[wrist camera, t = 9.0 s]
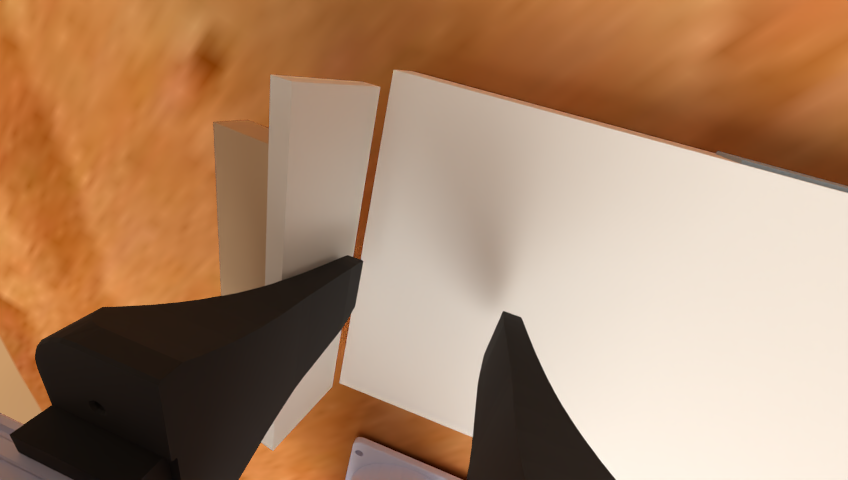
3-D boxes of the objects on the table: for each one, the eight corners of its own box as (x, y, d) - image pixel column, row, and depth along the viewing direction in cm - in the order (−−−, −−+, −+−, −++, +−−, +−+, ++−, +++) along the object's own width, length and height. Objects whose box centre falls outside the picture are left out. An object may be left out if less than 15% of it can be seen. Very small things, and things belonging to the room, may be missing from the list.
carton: (802, 529, 16) (837, 585, 14) (356, 354, 19) (339, 383, 17) (1178, 274, 9) (1326, 318, 8) (413, 67, 12) (394, 65, 11)
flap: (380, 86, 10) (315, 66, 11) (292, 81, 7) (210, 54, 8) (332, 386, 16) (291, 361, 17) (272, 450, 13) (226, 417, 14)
